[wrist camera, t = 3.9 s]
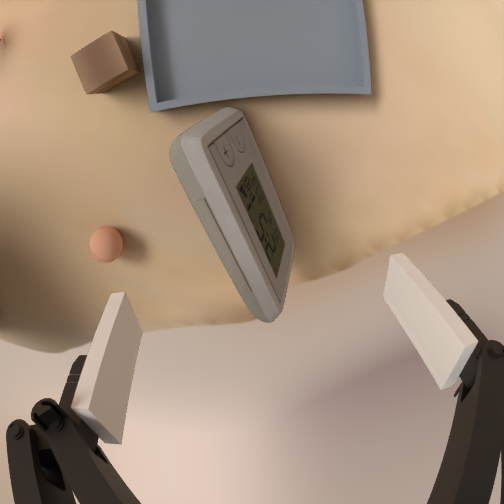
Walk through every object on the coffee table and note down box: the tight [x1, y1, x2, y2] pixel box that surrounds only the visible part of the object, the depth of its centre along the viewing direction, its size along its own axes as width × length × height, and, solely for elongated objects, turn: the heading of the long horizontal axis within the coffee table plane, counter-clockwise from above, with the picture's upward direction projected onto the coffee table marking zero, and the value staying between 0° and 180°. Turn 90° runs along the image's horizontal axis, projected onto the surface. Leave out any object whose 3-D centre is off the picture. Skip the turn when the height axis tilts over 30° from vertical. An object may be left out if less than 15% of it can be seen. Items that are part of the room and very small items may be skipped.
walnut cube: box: [71, 31, 140, 94], centre depth 20 cm, size 4×4×4 cm
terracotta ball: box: [89, 227, 123, 263], centre depth 28 cm, size 4×4×4 cm
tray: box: [137, 0, 371, 112], centre depth 20 cm, size 13×19×2 cm
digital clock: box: [169, 106, 295, 323], centre depth 24 cm, size 16×9×11 cm, turn 10°
